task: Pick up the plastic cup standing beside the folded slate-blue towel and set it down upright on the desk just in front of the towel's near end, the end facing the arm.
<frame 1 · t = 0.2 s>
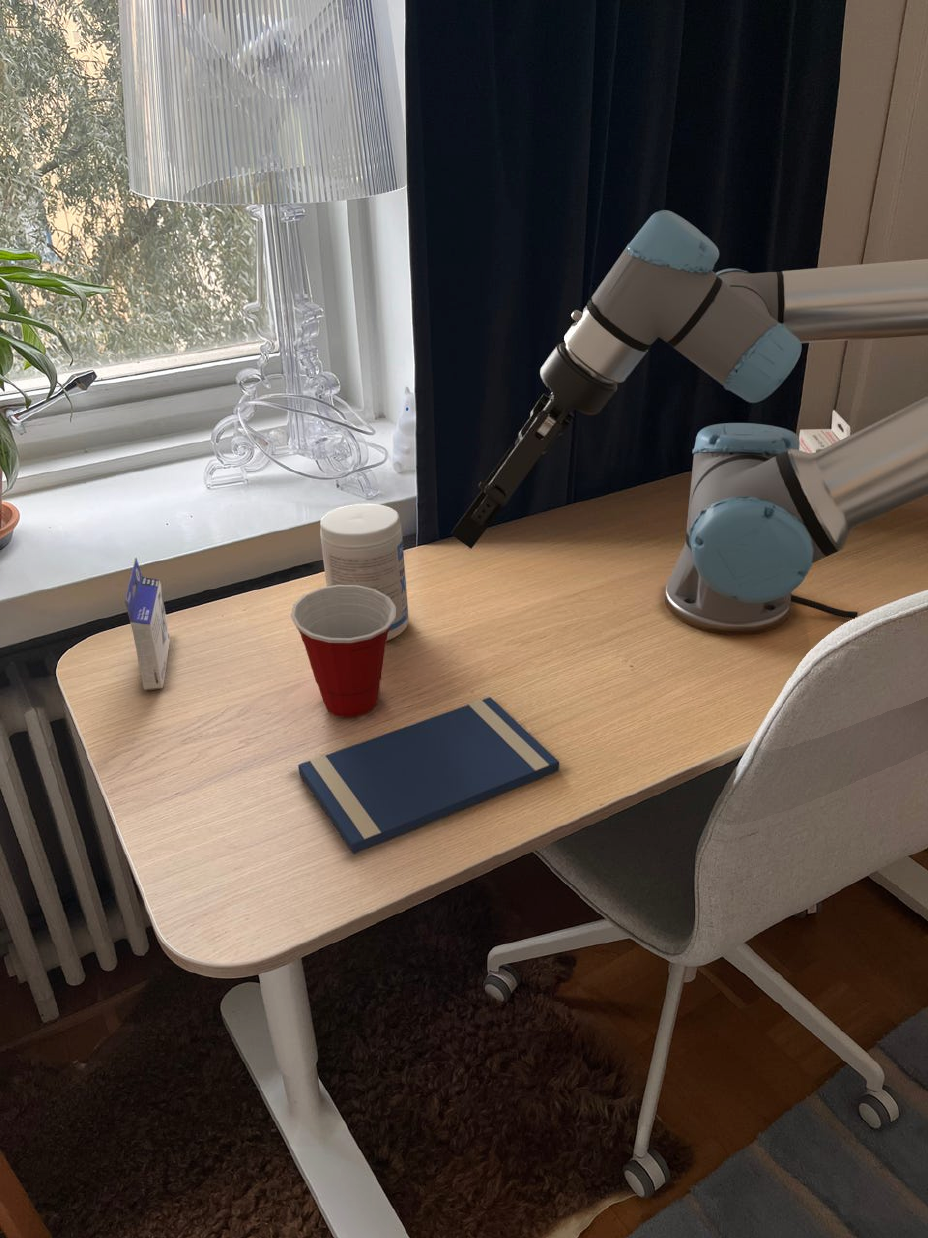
hand: (476, 516, 108), 16 cm above the table, tool tilted 35°, fingers open, 13 cm apart
supplement tub: (370, 628, 119), on the table
ink cartridge box: (811, 513, 145), on the table
plastic cup: (353, 704, 105), on the table
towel: (428, 772, 95), on the table
ink box: (159, 665, 113), on the table
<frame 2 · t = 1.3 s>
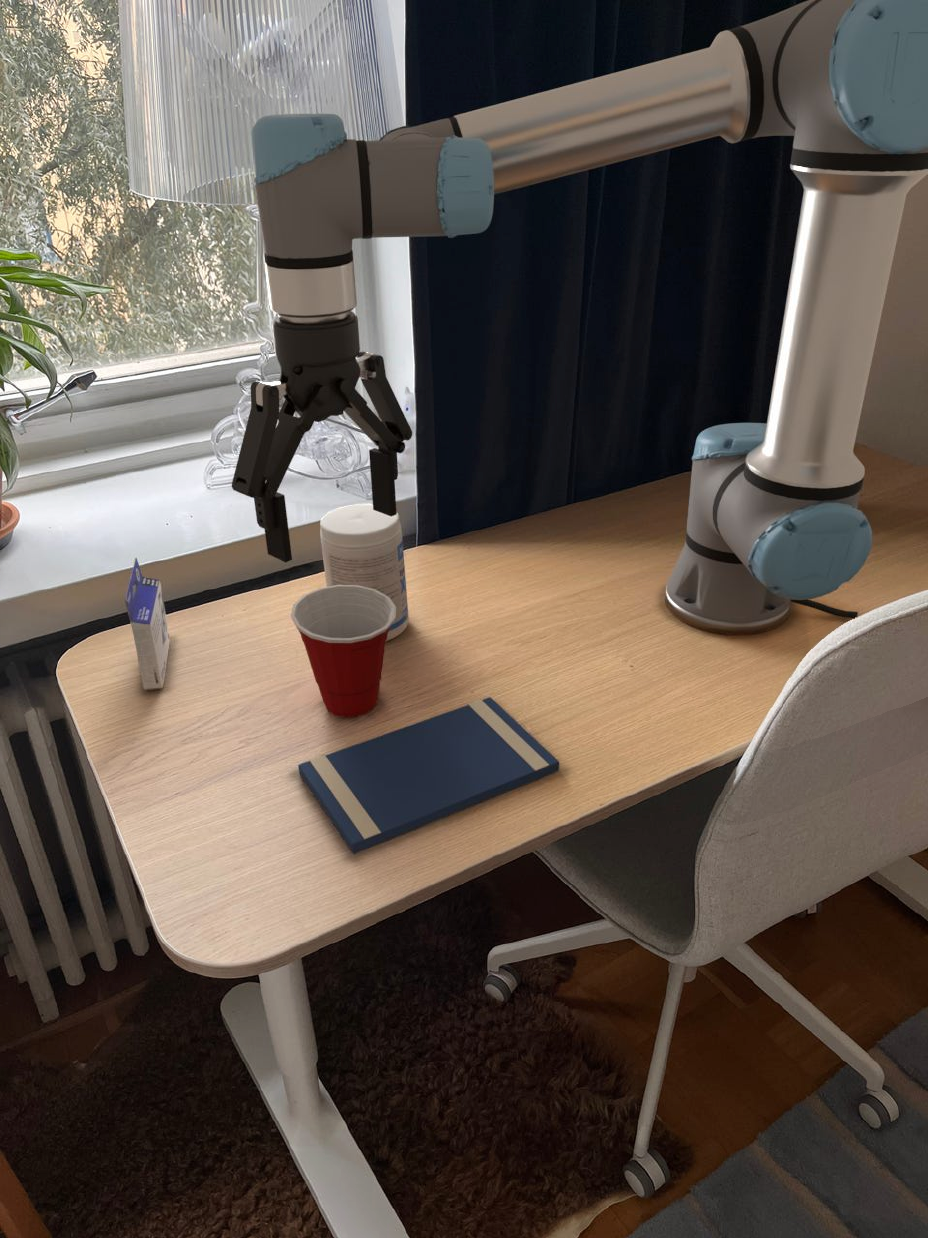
hand: (334, 533, 95), 20 cm above the table, tool pointing down, fingers open, 13 cm apart
nothing on the table moved.
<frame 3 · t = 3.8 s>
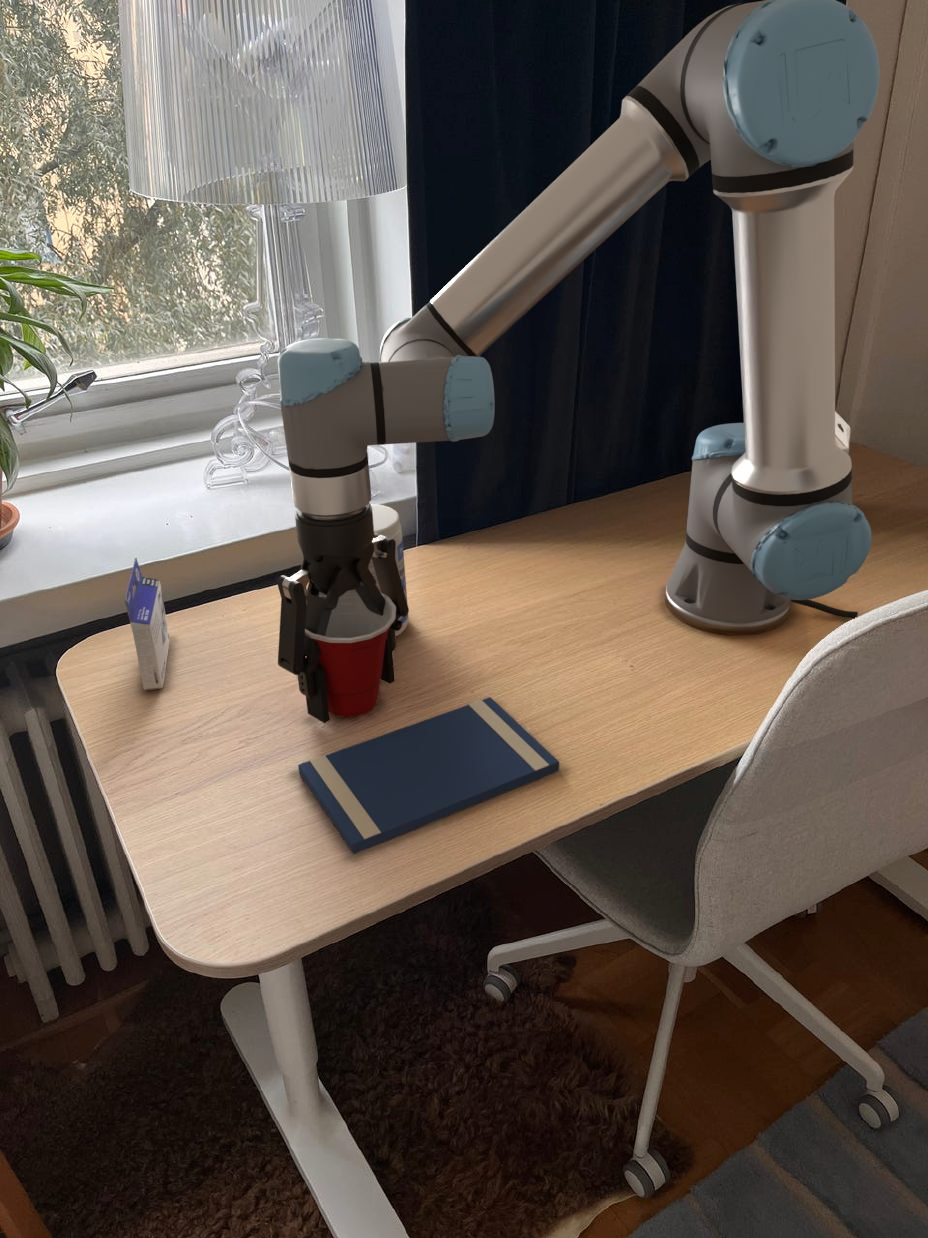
hand: (352, 697, 105), 1 cm above the table, tool pointing down, fingers closed on plastic cup, 9 cm apart
plastic cup: (353, 704, 105), on the table, touching gripper
everything else where it was.
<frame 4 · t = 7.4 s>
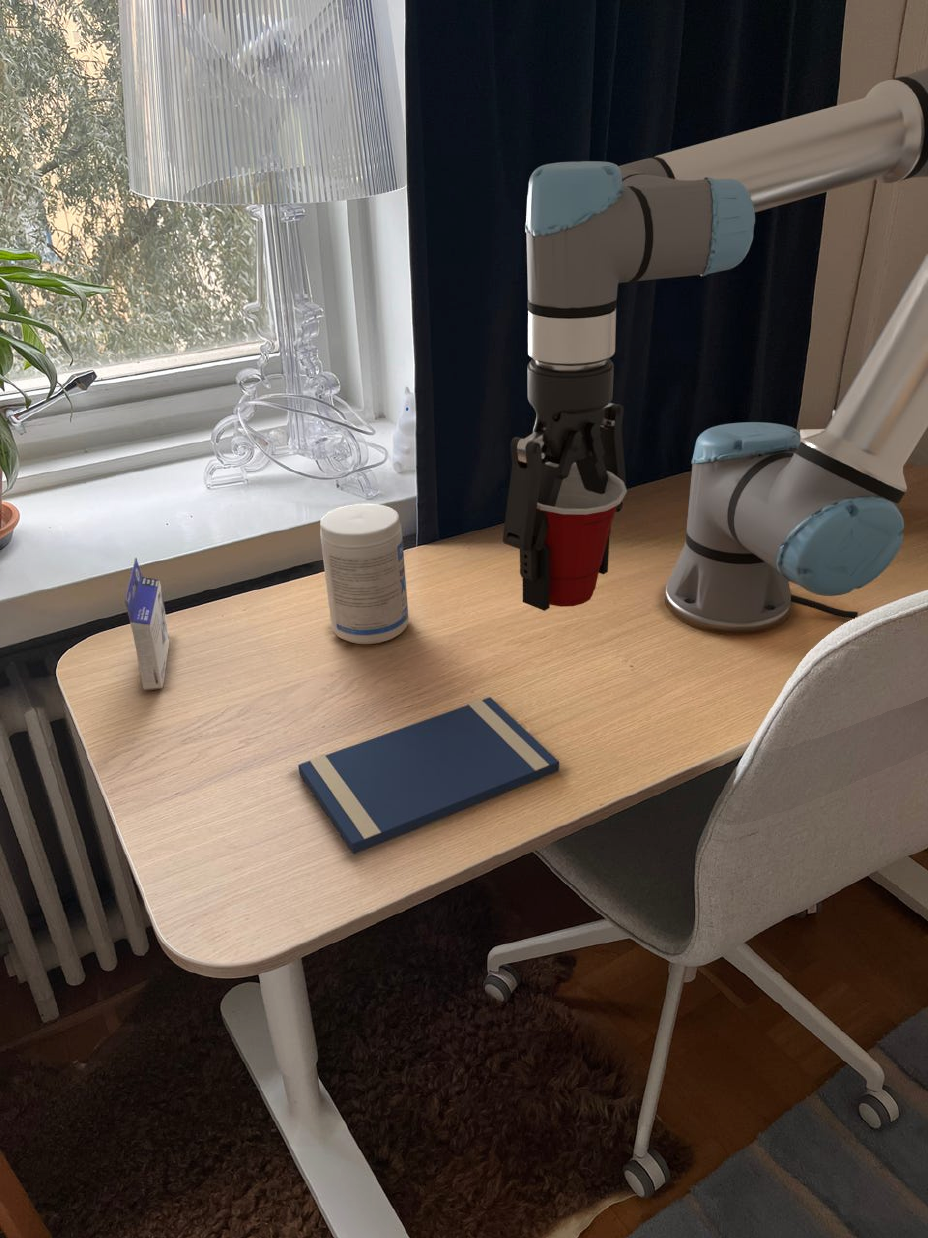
hand: (566, 586, 95), 15 cm above the table, tool pointing down, fingers closed on plastic cup, 9 cm apart
plastic cup: (566, 595, 96), point 14 cm above the table, touching gripper
everything else where it was.
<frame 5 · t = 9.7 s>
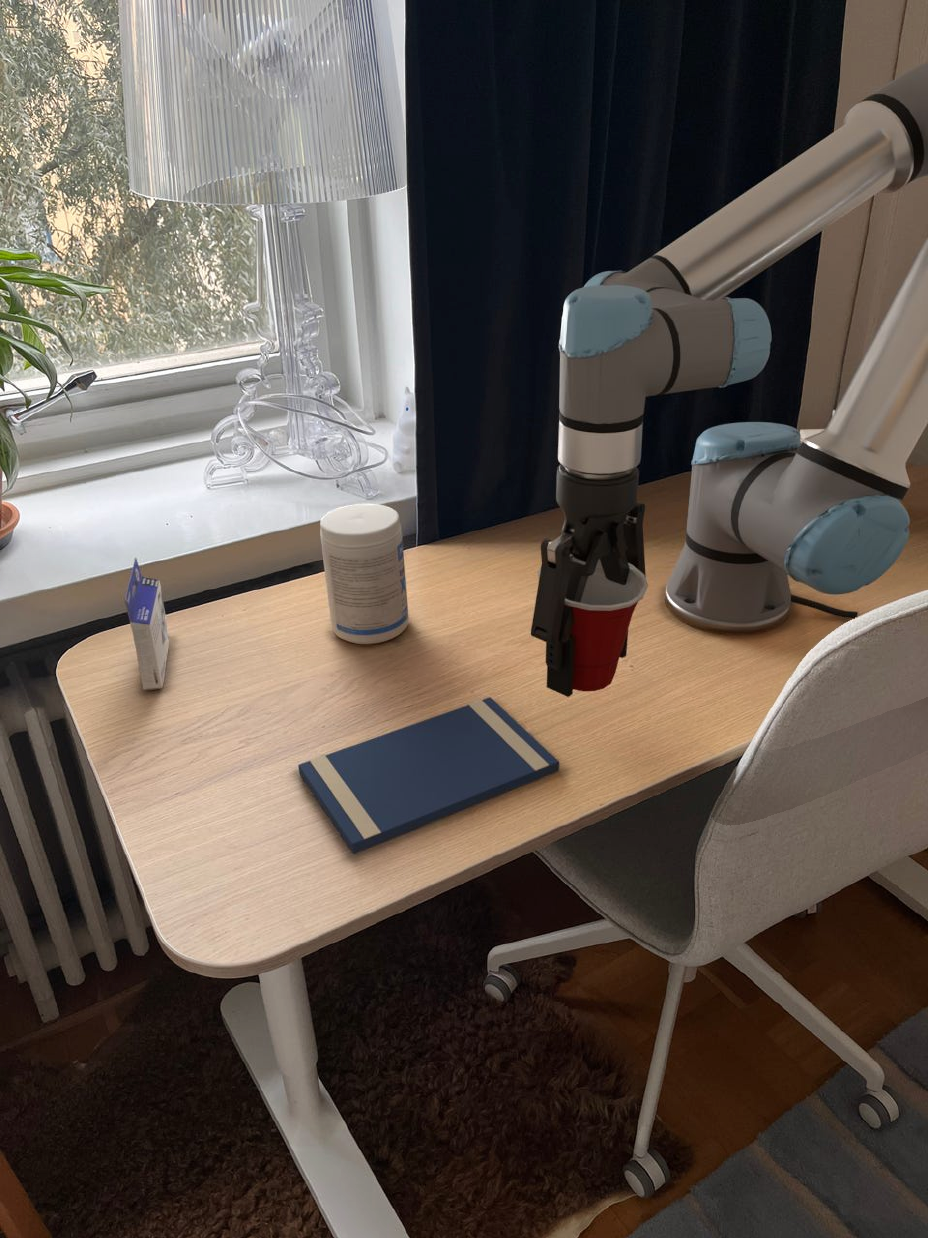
hand: (587, 670, 100), 5 cm above the table, tool pointing down, fingers closed on plastic cup, 9 cm apart
plastic cup: (587, 678, 100), point 4 cm above the table, touching gripper
everything else where it was.
when the fingers open (1 cm above the table, at t = 11.4 s): plastic cup stays where it is, on the table.
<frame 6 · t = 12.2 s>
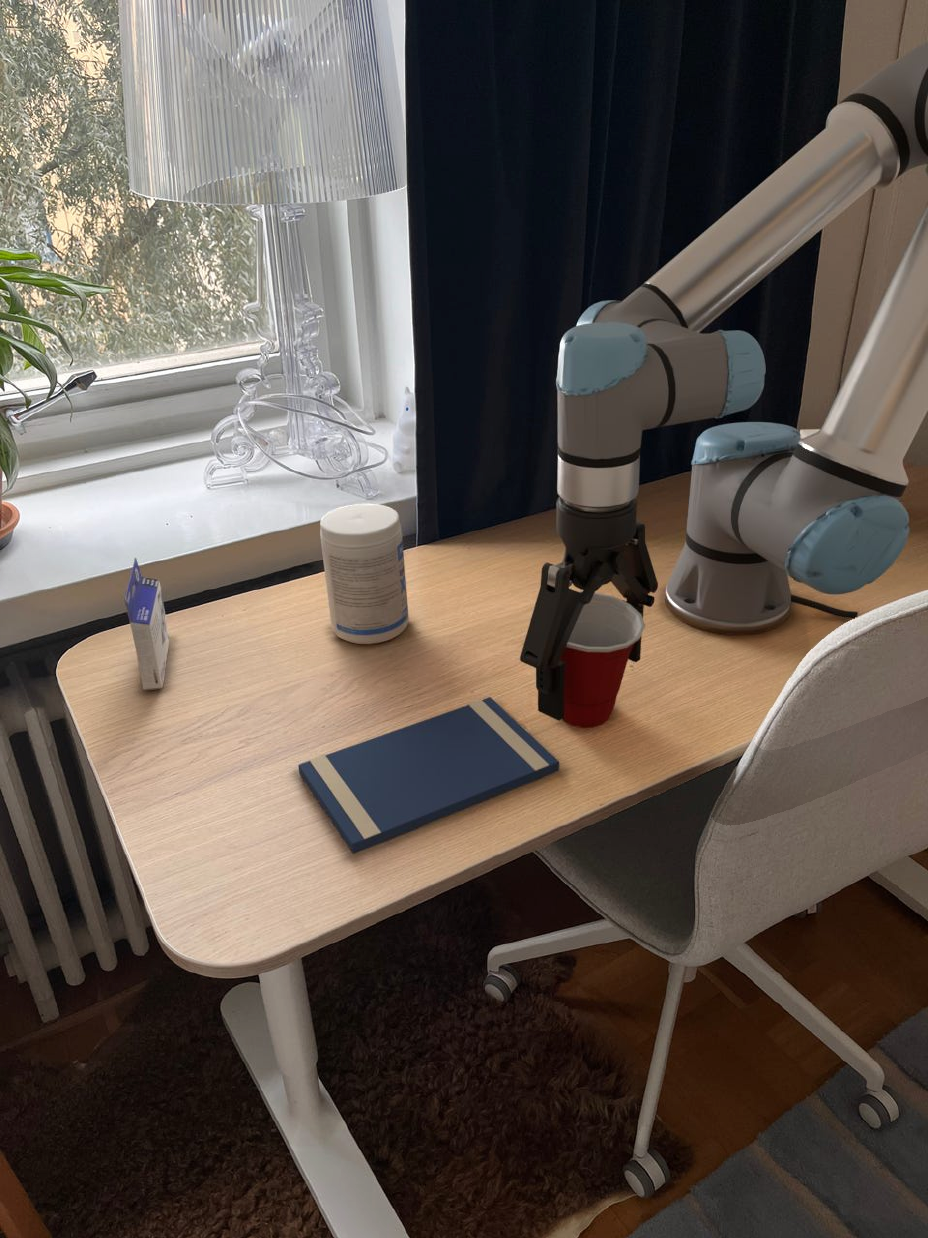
hand: (590, 684, 101), 3 cm above the table, tool pointing down, fingers open, 13 cm apart
plastic cup: (586, 714, 103), on the table
everything else where it was.
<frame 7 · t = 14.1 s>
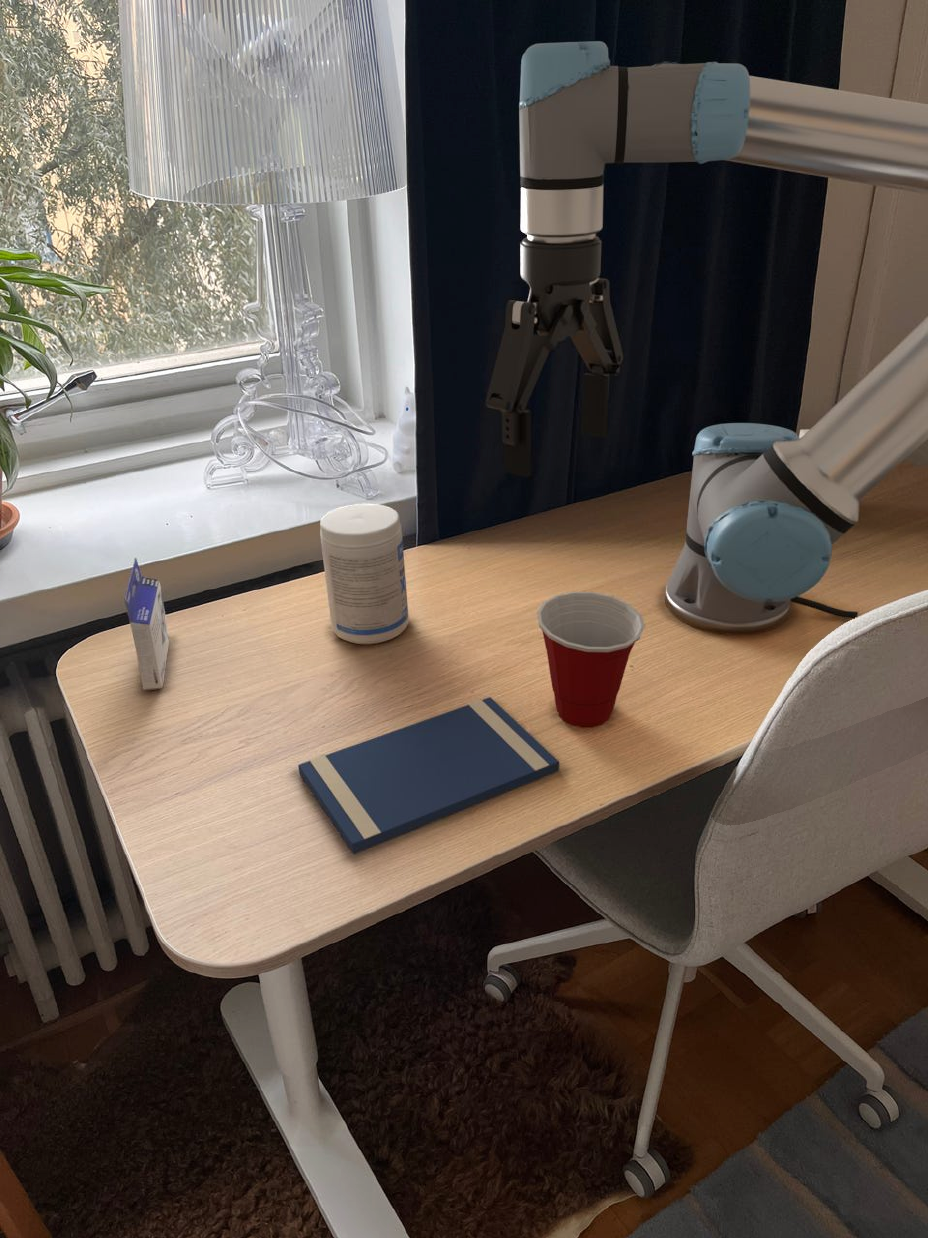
hand: (557, 453, 100), 25 cm above the table, tool pointing down, fingers open, 13 cm apart
nothing on the table moved.
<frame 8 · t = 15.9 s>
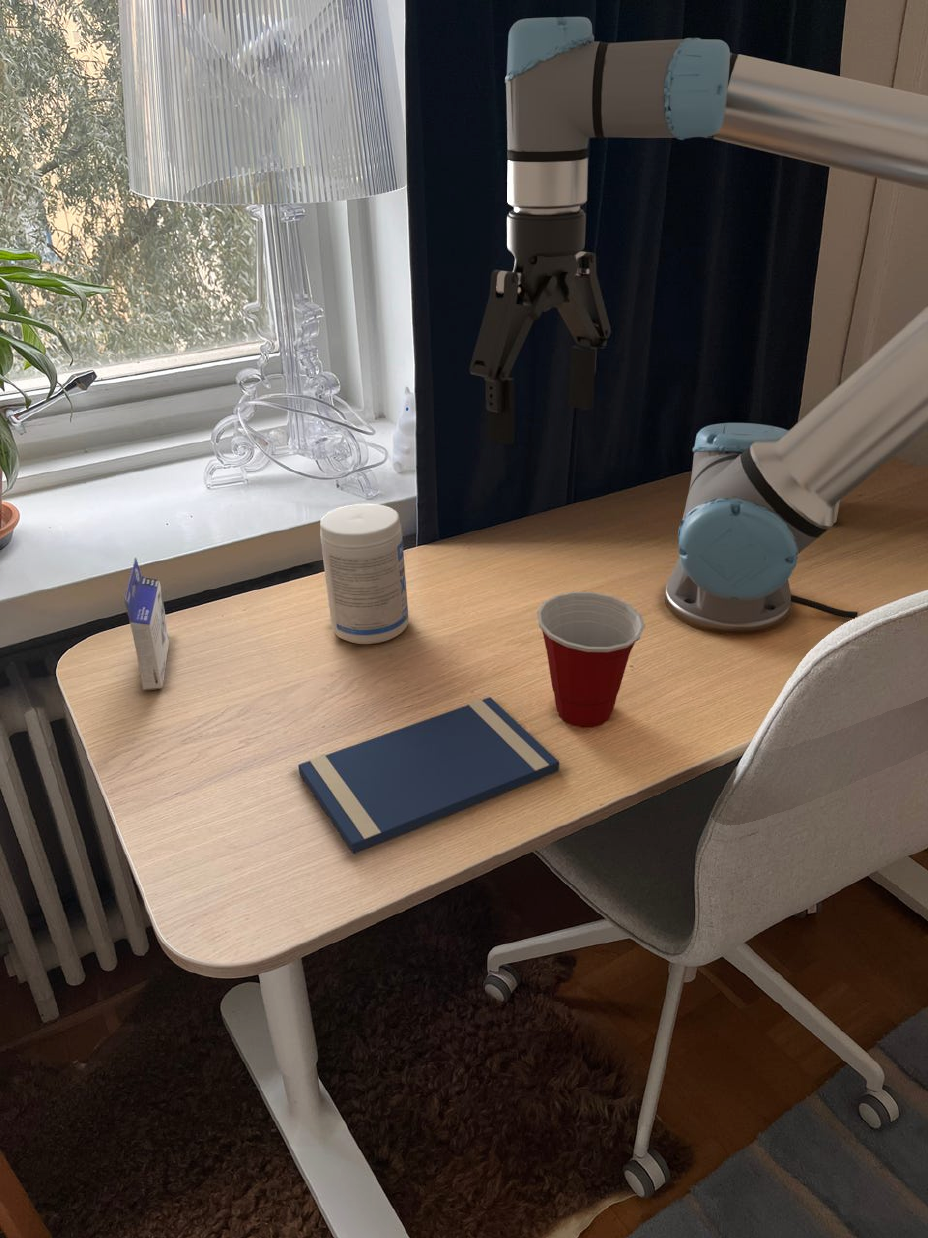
hand: (543, 423, 103), 27 cm above the table, tool pointing down, fingers open, 13 cm apart
nothing on the table moved.
at the end: plastic cup 0.0 cm from the target spot on the table beside the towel, on the table; plastic cup tilted 0°; the gripper is holding nothing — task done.
